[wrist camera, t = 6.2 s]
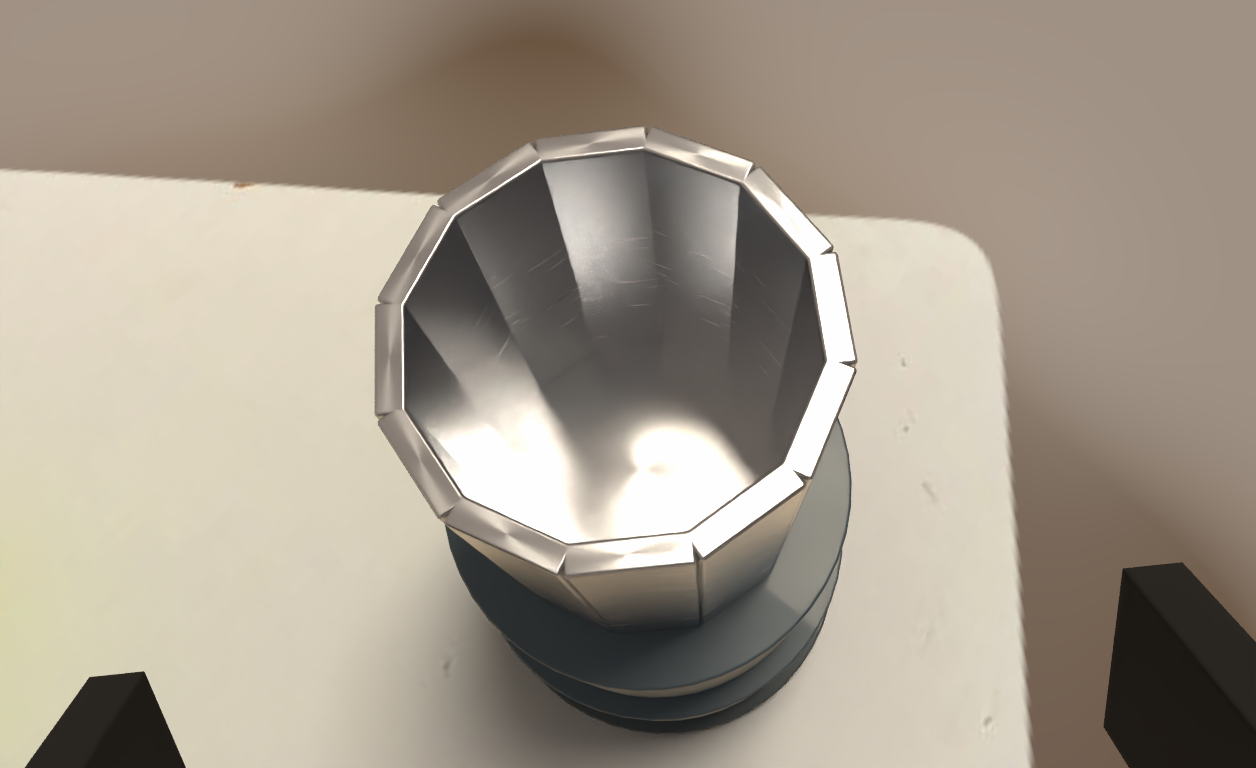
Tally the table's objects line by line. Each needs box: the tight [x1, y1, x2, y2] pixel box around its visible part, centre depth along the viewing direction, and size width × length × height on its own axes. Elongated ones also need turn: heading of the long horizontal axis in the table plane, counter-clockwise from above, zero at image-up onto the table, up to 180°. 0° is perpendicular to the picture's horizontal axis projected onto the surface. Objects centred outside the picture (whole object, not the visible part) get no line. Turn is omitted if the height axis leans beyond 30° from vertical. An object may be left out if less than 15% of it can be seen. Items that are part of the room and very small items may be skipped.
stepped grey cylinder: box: [445, 418, 851, 734], centre depth 29 cm, size 12×12×12 cm
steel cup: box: [375, 126, 857, 635], centre depth 19 cm, size 7×7×9 cm
